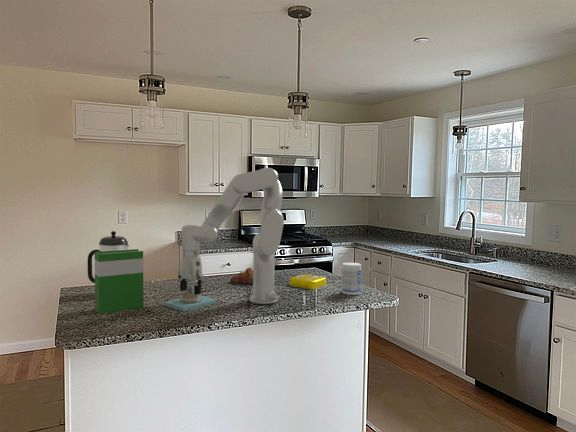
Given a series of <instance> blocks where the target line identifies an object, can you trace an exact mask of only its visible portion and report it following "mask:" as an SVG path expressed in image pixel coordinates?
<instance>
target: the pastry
mask: <svg viewBox="0 0 576 432" xmlns="http://www.w3.org/2000/svg"><path fill="white" fill-rule="evenodd" d="M229 281H230V283H233V284H238V283H240V284H242V285H249V286H250V285H253V269H252V268H251V267H248V268H246V269H245V271H240V272H239V273H237V274H236V275H233V276H232V277H231V278H230V279H229Z"/></svg>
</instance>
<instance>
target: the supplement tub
mask: <svg viewBox="0 0 576 432" xmlns="http://www.w3.org/2000/svg"><path fill="white" fill-rule="evenodd" d="M341 293H342V294H343V295H346V294H347V295H346V296H358V295H360V294H361V293H362V264H361V263H358V262H343V263H342V265H341Z"/></svg>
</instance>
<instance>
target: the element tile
mask: <svg viewBox="0 0 576 432" xmlns="http://www.w3.org/2000/svg"><path fill="white" fill-rule="evenodd" d="M326 285H327V277H325V276H320V275H314V274H306V273H304V274H300V275H296V276H292V277H290V278H289V286H290V287H296V288H301V289H307V290H315V289H318V288H321V287H325V286H326Z"/></svg>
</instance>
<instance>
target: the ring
mask: <svg viewBox="0 0 576 432" xmlns="http://www.w3.org/2000/svg"><path fill="white" fill-rule="evenodd" d="M199 295H200V294H197V295H195V294H187V290H184V291H182V293H181V298H182V300H183V301H187V302H191V301H197V300H199Z"/></svg>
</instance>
